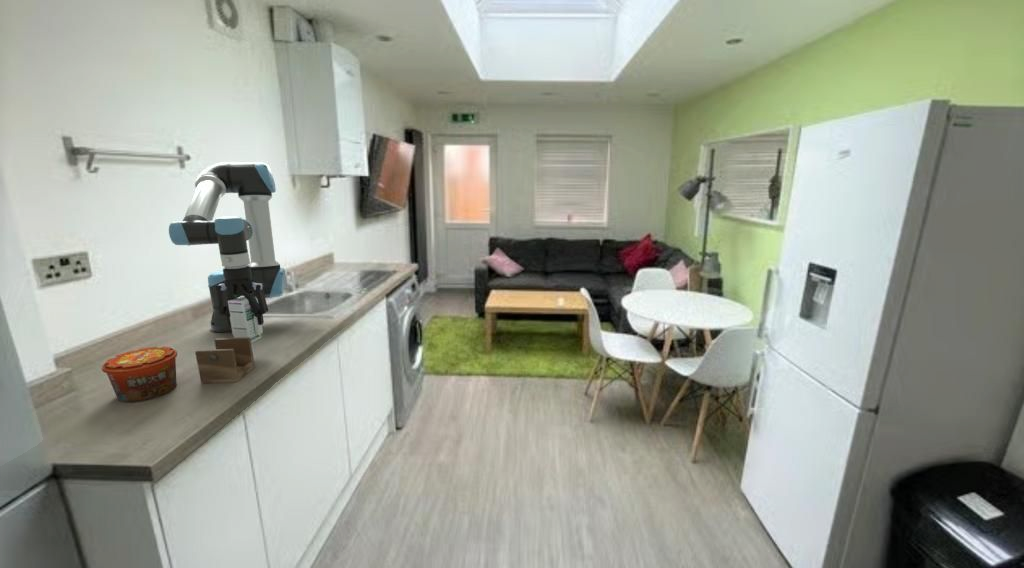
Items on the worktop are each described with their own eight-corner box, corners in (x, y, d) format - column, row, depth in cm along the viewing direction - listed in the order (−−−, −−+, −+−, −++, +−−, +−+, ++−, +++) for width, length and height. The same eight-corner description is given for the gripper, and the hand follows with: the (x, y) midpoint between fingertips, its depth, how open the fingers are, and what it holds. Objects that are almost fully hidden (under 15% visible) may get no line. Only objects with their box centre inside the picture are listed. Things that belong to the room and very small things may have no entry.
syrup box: (249, 343, 140) (243, 301, 136) (234, 342, 141) (227, 300, 137) (263, 337, 145) (256, 296, 141) (247, 335, 146) (241, 294, 142)
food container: (180, 395, 119) (173, 359, 116) (103, 412, 111) (93, 373, 108) (186, 374, 132) (179, 341, 129) (117, 387, 124) (108, 352, 121)
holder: (223, 367, 137) (218, 337, 134) (256, 366, 137) (251, 336, 135) (199, 384, 125) (193, 352, 123) (235, 383, 126) (229, 351, 123)
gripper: (196, 269, 132) (210, 339, 138) (262, 268, 133) (273, 337, 139) (211, 263, 139) (223, 330, 145) (274, 263, 140) (283, 329, 147)
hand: (248, 333), depth 142 cm, fingers closed on syrup box, 7 cm apart
